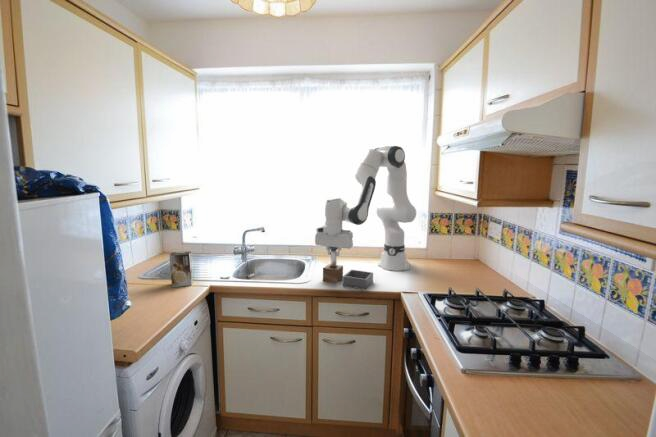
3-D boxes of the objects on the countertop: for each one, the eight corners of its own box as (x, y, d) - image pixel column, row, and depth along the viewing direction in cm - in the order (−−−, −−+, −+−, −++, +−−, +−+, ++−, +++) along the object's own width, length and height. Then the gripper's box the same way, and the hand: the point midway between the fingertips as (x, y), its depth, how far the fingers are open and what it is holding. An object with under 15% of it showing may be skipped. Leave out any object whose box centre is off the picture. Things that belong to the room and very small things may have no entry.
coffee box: (193, 281, 161) (191, 251, 158) (191, 285, 155) (189, 254, 152) (173, 283, 158) (171, 252, 156) (171, 287, 152) (169, 255, 150)
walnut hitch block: (329, 276, 170) (329, 264, 169) (342, 278, 167) (343, 265, 166) (322, 280, 163) (323, 268, 162) (337, 283, 160) (337, 270, 159)
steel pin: (331, 271, 168) (331, 245, 166) (339, 272, 166) (339, 246, 164) (327, 273, 164) (327, 247, 162) (335, 274, 162) (336, 247, 160)
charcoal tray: (351, 278, 167) (351, 269, 167) (372, 281, 162) (373, 272, 162) (342, 285, 156) (343, 276, 156) (365, 289, 152) (366, 279, 151)
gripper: (354, 229, 160) (354, 255, 162) (318, 226, 168) (318, 251, 170) (350, 231, 154) (350, 258, 156) (313, 228, 163) (313, 254, 165)
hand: (333, 255), depth 163 cm, fingers closed on steel pin, 3 cm apart
